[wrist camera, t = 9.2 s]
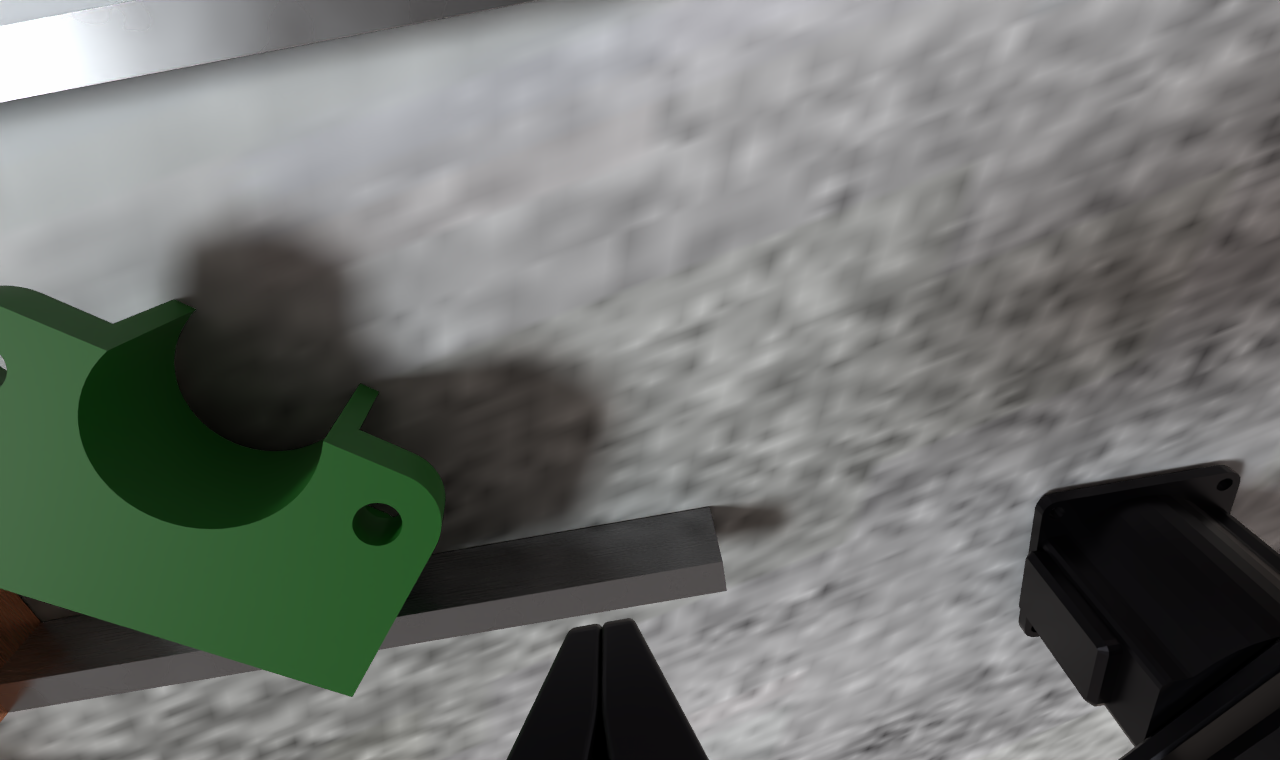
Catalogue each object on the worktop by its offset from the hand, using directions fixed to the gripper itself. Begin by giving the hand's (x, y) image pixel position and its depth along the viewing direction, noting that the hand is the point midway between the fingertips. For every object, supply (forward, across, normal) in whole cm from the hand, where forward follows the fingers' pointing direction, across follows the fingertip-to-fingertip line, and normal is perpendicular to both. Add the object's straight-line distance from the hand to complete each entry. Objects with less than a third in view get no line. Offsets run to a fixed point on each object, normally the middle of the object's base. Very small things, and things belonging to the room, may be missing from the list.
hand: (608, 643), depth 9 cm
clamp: (+12, +10, +2) cm, 16 cm away
